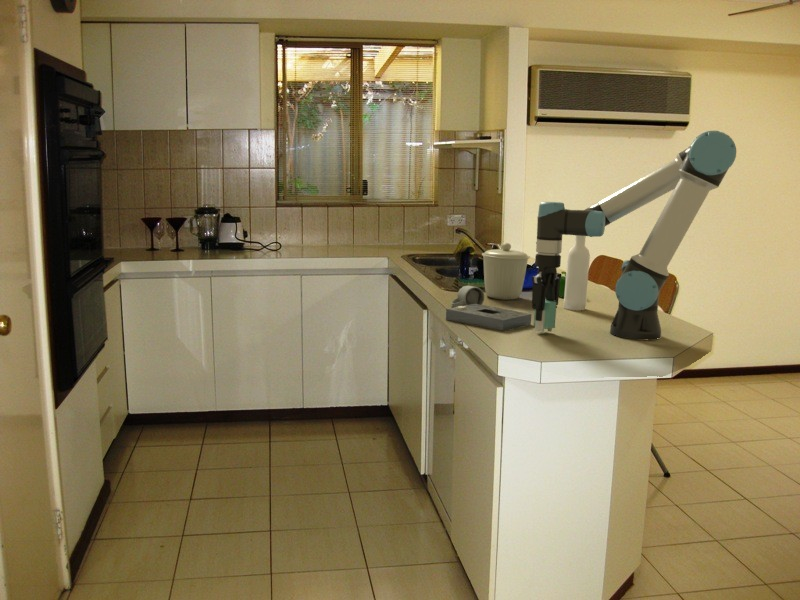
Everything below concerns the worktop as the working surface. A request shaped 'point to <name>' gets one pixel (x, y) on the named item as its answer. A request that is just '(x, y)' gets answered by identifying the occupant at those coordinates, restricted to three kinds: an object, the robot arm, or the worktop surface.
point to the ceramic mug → (468, 296)
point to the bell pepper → (562, 285)
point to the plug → (548, 315)
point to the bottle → (577, 275)
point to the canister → (504, 272)
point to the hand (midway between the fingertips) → (543, 329)
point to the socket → (488, 317)
